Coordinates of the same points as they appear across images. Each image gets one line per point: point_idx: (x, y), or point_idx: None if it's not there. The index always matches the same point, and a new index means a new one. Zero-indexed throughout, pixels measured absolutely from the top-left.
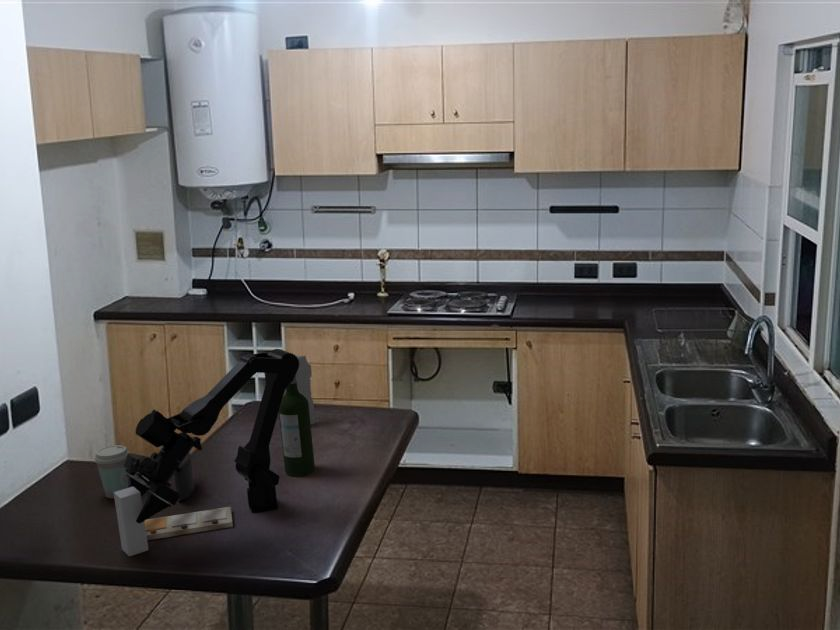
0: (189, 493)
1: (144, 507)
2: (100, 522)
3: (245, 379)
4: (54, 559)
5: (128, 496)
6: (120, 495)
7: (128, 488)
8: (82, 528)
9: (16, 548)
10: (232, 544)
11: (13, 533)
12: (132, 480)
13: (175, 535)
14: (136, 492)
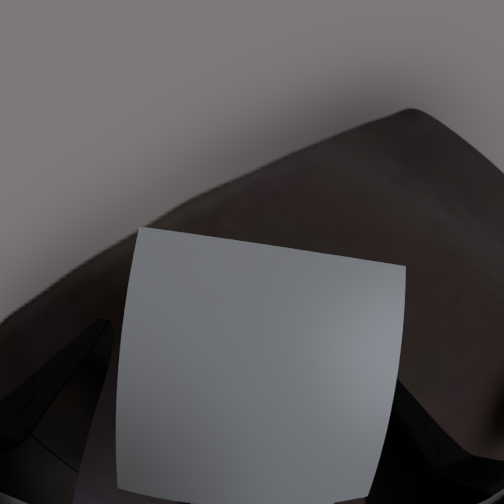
0: None
1: (33, 383)
2: (466, 331)
3: None
4: (358, 145)
5: (125, 342)
6: (236, 277)
7: (363, 448)
8: (467, 282)
9: (451, 140)
10: None
11: (499, 177)
12: (458, 498)
13: None
14: (147, 466)
